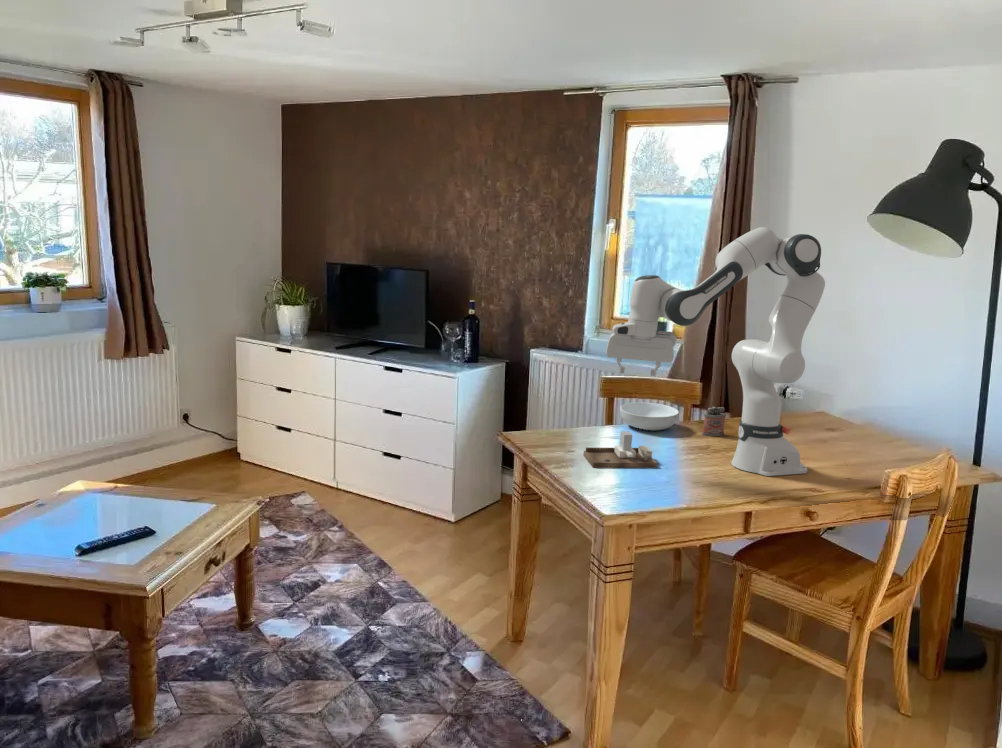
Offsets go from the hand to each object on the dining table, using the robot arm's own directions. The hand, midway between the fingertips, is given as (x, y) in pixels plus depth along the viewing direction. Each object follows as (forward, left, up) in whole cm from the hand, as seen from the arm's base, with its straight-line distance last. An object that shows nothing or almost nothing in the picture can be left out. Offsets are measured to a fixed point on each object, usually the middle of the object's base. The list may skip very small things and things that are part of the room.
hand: (637, 374), depth 244 cm
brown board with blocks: (+4, +1, -28) cm, 28 cm away
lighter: (-39, -30, -28) cm, 57 cm away
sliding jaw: (+2, +1, -26) cm, 26 cm away
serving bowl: (-18, -39, -28) cm, 52 cm away
